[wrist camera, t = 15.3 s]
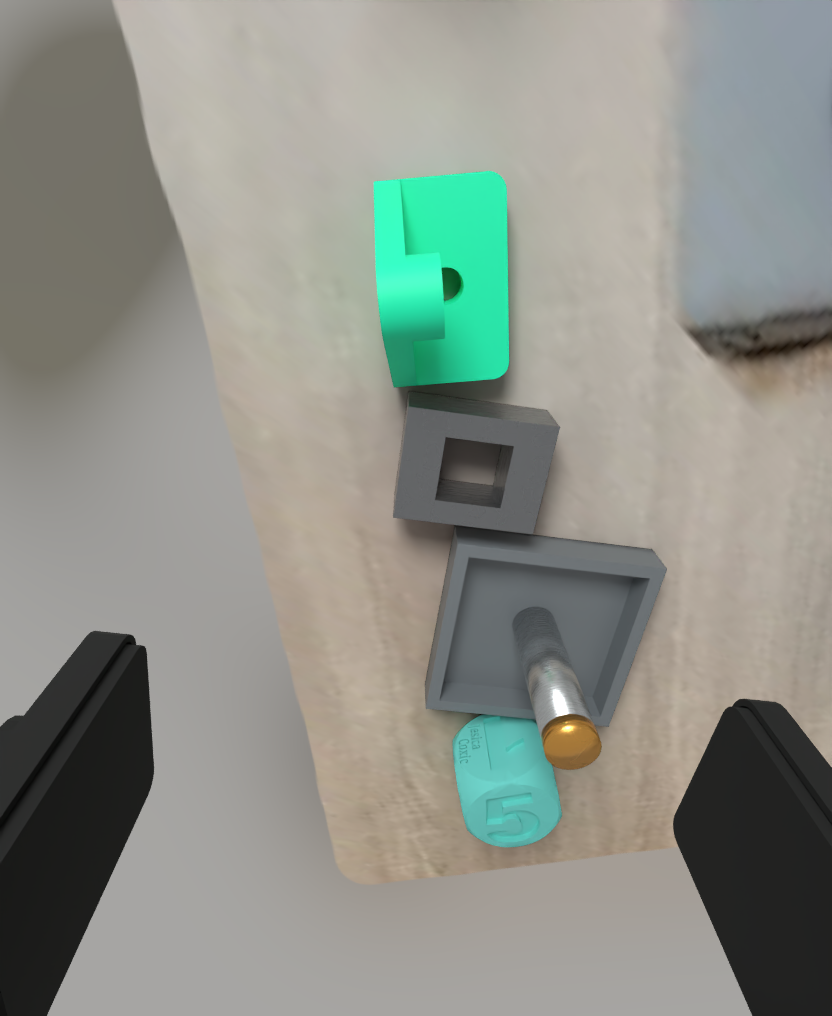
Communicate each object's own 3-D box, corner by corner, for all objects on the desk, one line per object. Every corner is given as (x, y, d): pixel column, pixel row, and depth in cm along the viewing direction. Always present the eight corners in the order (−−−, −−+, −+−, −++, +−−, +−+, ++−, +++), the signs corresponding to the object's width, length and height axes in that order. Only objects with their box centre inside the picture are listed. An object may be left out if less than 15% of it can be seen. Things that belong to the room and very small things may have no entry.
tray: (652, 549, 48) (667, 568, 45) (598, 701, 54) (608, 726, 52) (454, 525, 47) (457, 543, 44) (424, 684, 53) (425, 708, 51)
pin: (559, 609, 49) (608, 731, 37) (549, 644, 51) (592, 772, 39) (517, 604, 49) (552, 725, 37) (508, 639, 51) (539, 766, 39)
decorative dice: (535, 702, 54) (555, 775, 47) (546, 763, 58) (566, 840, 51) (449, 717, 55) (456, 791, 48) (465, 777, 58) (473, 855, 51)
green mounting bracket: (503, 369, 42) (530, 410, 32) (394, 378, 42) (390, 421, 33) (500, 173, 37) (531, 155, 27) (376, 184, 37) (364, 170, 27)
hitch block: (546, 410, 43) (559, 427, 39) (523, 510, 46) (532, 534, 42) (408, 391, 42) (408, 406, 38) (394, 494, 45) (393, 517, 42)
